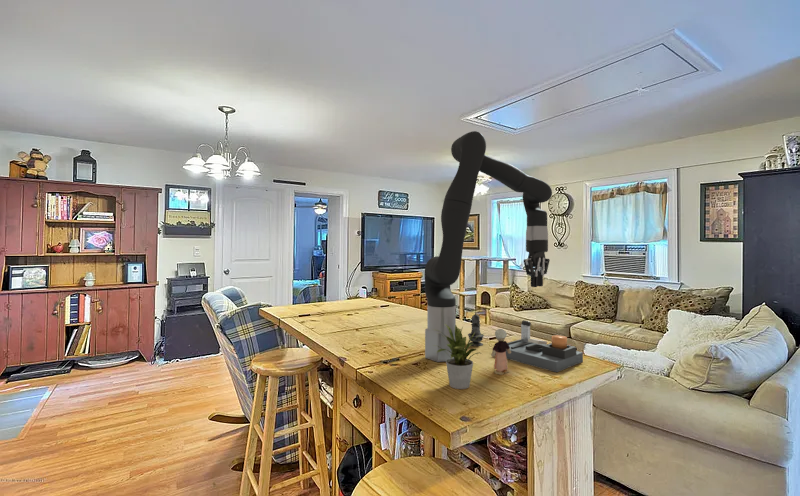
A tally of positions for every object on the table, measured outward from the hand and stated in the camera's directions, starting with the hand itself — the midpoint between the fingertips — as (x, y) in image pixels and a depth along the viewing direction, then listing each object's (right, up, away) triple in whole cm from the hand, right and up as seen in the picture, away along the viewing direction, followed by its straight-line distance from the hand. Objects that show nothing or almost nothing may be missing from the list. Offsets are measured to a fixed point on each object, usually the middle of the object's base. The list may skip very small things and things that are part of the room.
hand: (536, 286), depth 135 cm
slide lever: (-5, -19, -4) cm, 20 cm away
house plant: (-35, -22, -36) cm, 55 cm away
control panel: (-5, -22, -13) cm, 26 cm away
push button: (0, -17, -19) cm, 25 cm away
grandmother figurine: (-20, -22, -27) cm, 41 cm away
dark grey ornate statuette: (-21, -22, +4) cm, 31 cm away
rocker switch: (-5, -17, -13) cm, 22 cm away
